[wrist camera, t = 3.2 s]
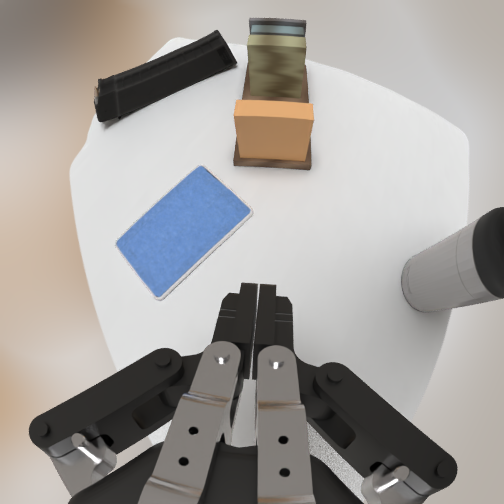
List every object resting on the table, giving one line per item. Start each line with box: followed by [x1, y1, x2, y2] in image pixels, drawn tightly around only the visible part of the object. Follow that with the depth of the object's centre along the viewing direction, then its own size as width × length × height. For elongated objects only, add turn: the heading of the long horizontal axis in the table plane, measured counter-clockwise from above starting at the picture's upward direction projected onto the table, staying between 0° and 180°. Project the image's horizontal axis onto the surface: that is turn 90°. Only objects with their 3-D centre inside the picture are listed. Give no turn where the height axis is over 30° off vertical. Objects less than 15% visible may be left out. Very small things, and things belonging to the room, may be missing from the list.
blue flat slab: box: [115, 165, 253, 300], centre depth 41 cm, size 19×13×1 cm, turn 134°
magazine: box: [94, 30, 237, 122], centre depth 45 cm, size 17×3×30 cm
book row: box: [233, 18, 311, 170], centre depth 40 cm, size 12×26×14 cm, turn 176°
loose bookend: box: [234, 100, 314, 162], centre depth 37 cm, size 10×3×10 cm, turn 86°
